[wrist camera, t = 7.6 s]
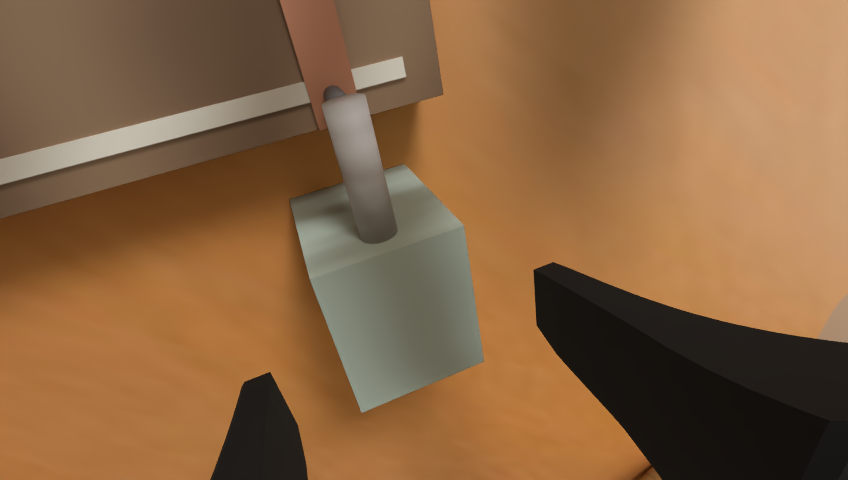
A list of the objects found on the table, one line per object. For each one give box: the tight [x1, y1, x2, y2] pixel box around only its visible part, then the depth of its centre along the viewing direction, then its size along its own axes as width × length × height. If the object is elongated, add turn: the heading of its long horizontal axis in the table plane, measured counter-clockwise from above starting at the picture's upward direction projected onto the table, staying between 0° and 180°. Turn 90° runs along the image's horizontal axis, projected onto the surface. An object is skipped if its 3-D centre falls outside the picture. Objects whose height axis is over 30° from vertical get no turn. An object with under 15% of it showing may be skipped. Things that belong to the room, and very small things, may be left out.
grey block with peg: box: [289, 85, 484, 413], centre depth 13 cm, size 4×8×5 cm, turn 11°
